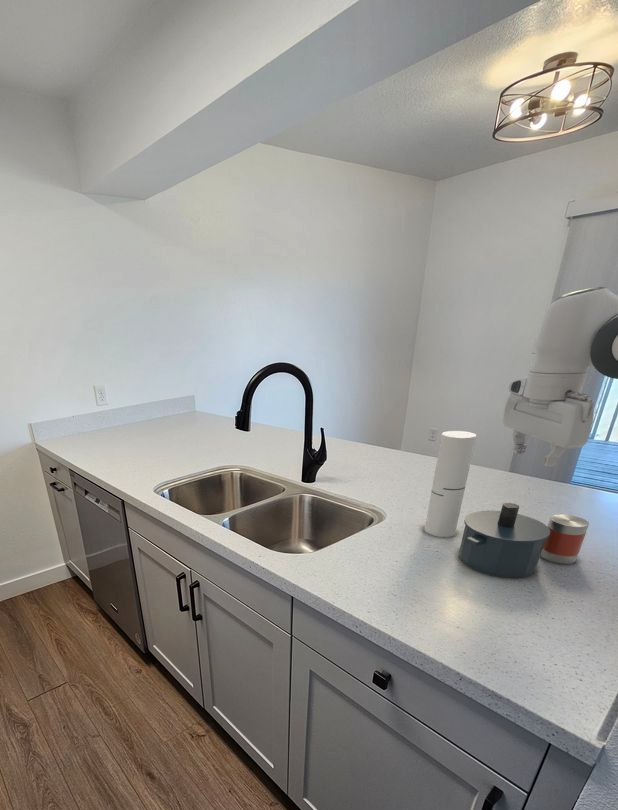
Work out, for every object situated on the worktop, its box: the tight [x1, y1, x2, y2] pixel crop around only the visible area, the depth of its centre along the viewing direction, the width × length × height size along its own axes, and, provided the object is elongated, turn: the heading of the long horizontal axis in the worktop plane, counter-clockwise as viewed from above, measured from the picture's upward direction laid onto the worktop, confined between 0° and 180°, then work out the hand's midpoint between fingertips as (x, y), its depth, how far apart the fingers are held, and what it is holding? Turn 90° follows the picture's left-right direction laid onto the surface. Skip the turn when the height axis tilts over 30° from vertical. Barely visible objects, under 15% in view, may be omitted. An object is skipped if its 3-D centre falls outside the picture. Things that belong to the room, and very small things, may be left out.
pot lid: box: [463, 502, 550, 543], centre depth 93 cm, size 16×16×6 cm
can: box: [540, 513, 590, 565], centre depth 96 cm, size 7×7×9 cm
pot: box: [458, 524, 546, 579], centre depth 96 cm, size 15×20×8 cm
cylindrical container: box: [424, 430, 477, 538], centre depth 107 cm, size 7×7×25 cm
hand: (532, 458), depth 88 cm, fingers open, 8 cm apart
